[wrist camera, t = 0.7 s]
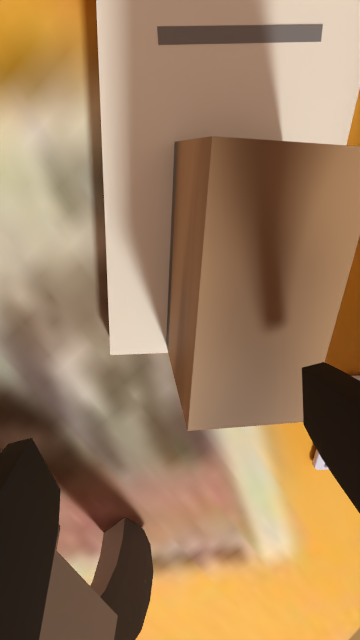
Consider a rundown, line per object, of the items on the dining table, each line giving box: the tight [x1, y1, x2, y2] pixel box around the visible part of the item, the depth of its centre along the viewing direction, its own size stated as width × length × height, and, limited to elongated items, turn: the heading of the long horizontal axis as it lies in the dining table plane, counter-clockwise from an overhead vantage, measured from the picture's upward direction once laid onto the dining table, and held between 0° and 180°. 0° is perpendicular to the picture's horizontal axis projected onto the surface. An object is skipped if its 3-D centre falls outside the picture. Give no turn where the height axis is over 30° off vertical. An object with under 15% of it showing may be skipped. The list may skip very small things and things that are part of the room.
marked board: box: [96, 0, 360, 355], centre depth 13 cm, size 10×24×2 cm, turn 177°
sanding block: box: [166, 136, 360, 431], centre depth 13 cm, size 4×9×6 cm, turn 177°
